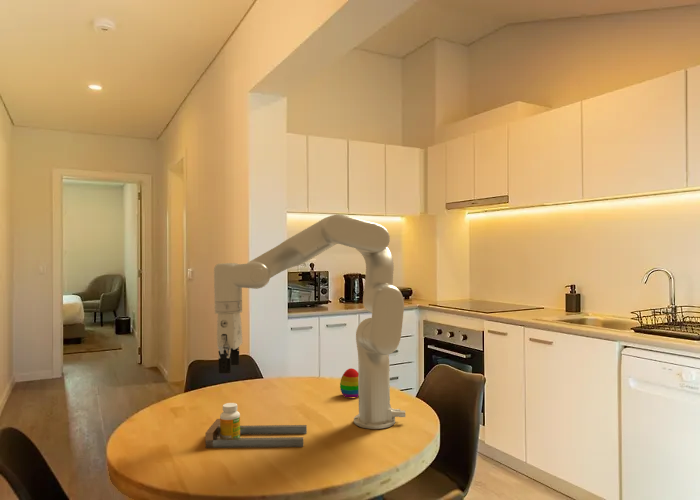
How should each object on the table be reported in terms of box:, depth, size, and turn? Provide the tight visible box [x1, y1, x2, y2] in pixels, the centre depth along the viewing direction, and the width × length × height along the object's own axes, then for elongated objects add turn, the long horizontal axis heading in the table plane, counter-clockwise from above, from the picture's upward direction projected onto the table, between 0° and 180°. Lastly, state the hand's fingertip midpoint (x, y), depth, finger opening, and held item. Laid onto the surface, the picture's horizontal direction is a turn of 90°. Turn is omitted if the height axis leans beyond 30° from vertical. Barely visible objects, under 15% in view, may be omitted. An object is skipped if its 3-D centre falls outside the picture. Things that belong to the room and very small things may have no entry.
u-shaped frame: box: [205, 418, 308, 449], centre depth 135 cm, size 26×11×4 cm, turn 90°
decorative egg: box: [339, 368, 359, 398], centre depth 176 cm, size 8×8×10 cm
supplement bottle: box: [219, 402, 241, 438], centre depth 135 cm, size 5×5×10 cm
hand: (229, 368), depth 136 cm, fingers open, 9 cm apart
